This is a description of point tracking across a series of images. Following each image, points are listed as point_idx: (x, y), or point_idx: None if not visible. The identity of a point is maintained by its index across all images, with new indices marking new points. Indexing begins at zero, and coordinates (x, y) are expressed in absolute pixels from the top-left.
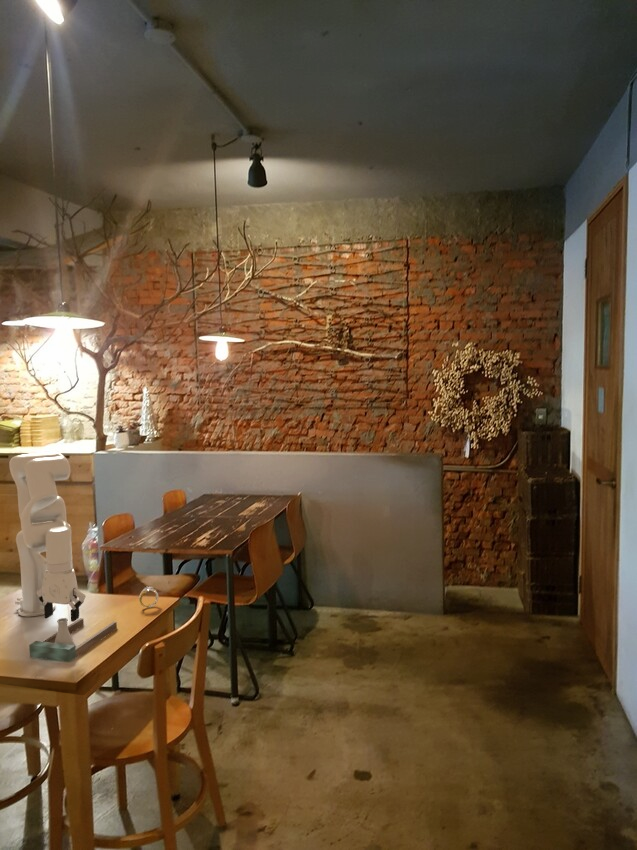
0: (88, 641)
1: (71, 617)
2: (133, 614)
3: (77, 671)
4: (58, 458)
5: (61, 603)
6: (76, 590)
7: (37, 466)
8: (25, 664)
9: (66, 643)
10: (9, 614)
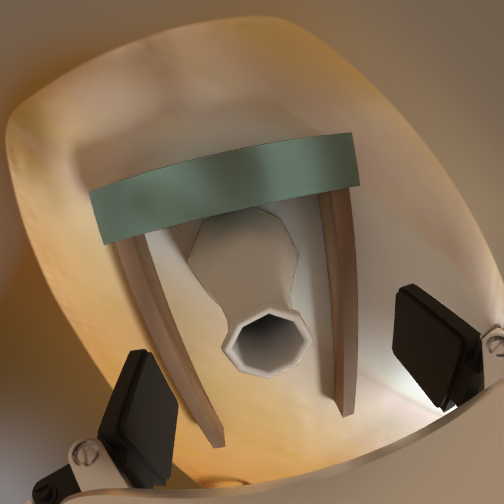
0: (148, 328)
1: (129, 372)
2: (250, 472)
3: (36, 156)
4: None
5: (173, 500)
6: None
7: None
8: (284, 83)
9: (205, 260)
10: None
